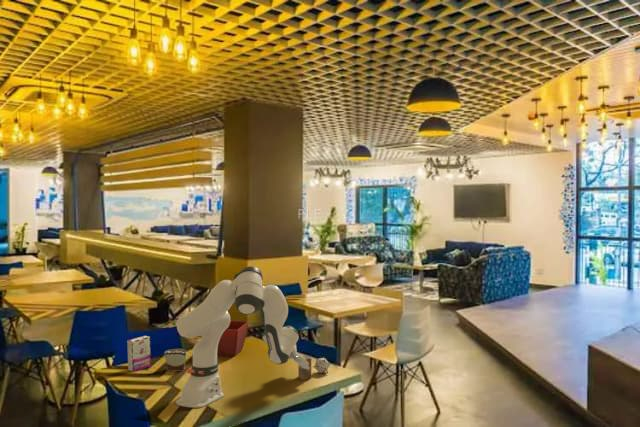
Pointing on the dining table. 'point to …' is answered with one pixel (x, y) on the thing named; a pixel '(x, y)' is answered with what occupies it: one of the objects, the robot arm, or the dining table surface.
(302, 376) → the walnut block
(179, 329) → the robot arm
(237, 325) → the plant pot
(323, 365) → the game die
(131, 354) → the candy bar box
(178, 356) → the food container
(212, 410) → the dining table surface
